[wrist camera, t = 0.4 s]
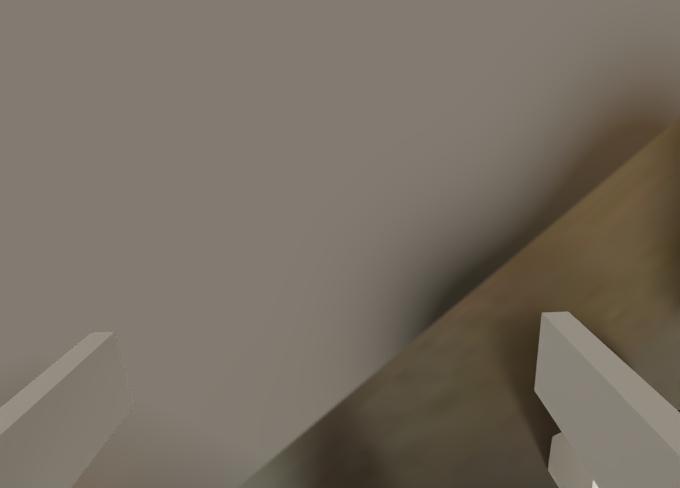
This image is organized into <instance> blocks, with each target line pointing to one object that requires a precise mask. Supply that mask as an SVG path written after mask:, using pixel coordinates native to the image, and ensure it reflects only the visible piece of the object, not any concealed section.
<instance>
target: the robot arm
mask: <svg viewBox="0 0 680 488" xmlns="http://www.w3.org/2000/svg"><path fill="white" fill-rule="evenodd" d="M534 391H535V392H536V394H537V395H538V397H539V398H540V400H541V401H542V403H543V404H544V406H545V407H546V409H547V410H548V412H549V413H550V415H551V416H552V418H553V419H554V421H555V422H556V424H557V425H558V427H559V428H560V430H561V432H562V433H563V435H564V436H565V438H566V439H567V441H568V442H569V444H570V445H571V447H572V448H573V450H574V451H575V453H576V454H577V456H578V457H579V459H580V460H581V462H582V463H583V465H584V466H585V468H586V469H587V471H588V472H589V474H590V475H591V477H592V478H593V480H594V481H595V483H596V484H597V486H598V487H599V488H680V410H676V409H675V408H674V407H673V406H672V405H671V404H670V403H668V402H667V401H666V400H665V399H664V398H663V397H662V396H661V395H660V394H659V393H657V392H656V391H655V390H654V389H653V388H652V387H651V386H650V385H649V384H648V383H646V382H645V381H644V380H643V379H642V378H641V377H640V376H639V375H638V374H637V373H635V372H634V371H633V370H632V369H631V368H630V367H629V366H628V365H627V364H625V363H624V362H623V361H622V360H621V359H620V358H619V357H618V356H617V355H616V354H614V353H613V352H612V351H611V350H610V349H609V348H608V347H607V346H606V345H605V344H603V343H602V342H601V341H600V340H599V339H598V338H597V337H596V336H595V335H594V334H592V333H591V332H590V331H589V330H588V329H587V328H586V327H585V326H584V325H582V324H581V323H580V322H579V321H578V320H577V319H576V318H575V317H574V316H573V315H571V314H570V313H569V312H546V313H542V316H541V326H540V336H539V347H538V357H537V368H536V378H535V388H534ZM133 406H134V401H133V397H132V394H131V390H130V386H129V383H128V379H127V375H126V371H125V368H124V364H123V360H122V356H121V353H120V350H119V346H118V342H117V338H116V334H115V332H99V333H98V332H97V333H91V334H89V335H88V336H87V337H86V338H84V339H83V340H82V341H81V342H80V343H78V344H77V345H76V346H75V347H73V348H72V349H71V350H70V351H69V352H67V353H66V354H65V355H64V356H63V357H61V358H60V359H59V360H58V361H57V362H55V363H54V364H53V365H52V366H51V367H50V368H48V369H47V370H46V371H44V372H43V373H42V374H41V375H40V376H38V377H37V378H36V379H35V380H34V381H32V382H31V383H30V384H29V385H27V387H25V388H24V389H23V390H21V391H20V392H19V393H18V394H17V395H15V396H14V397H13V398H12V399H11V400H9V401H8V402H7V403H6V404H4V405H3V406H2V407H1V408H0V488H71V487H72V486H73V485H74V483H75V482H76V481H77V479H78V478H79V477H80V475H81V474H82V473H83V471H84V470H85V469H86V467H87V466H88V465H89V463H90V462H91V461H92V460H93V458H94V457H95V456H96V454H97V453H98V452H99V450H100V449H101V448H102V446H103V445H104V444H105V442H106V441H107V440H108V438H109V437H110V436H111V435H112V433H113V432H114V430H115V429H116V428H117V427H118V425H119V424H120V422H121V421H122V420H123V419H124V417H125V416H126V415H127V413H128V412H129V411H130V410H131V408H132V407H133Z"/></svg>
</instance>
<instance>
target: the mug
mask: <svg viewBox="0 0 680 488" xmlns="http://www.w3.org/2000/svg"><path fill="white" fill-rule="evenodd" d="M548 471H549V473H550V474H551V476H552V478H553V479H554V481H555V483H556V484H557V486H558V487H559V488H599V487H598V486H597V484H596V483H595V481H594V480H593V478H592V477H591V475H590V474H589V472H588V471H587V469H586V468H585V466H584V465H583V463H582V462H581V460H580V459H579V457H578V456H577V454H576V453H575V451H574V450H573V448H572V447H571V445H570V444H569V442H568V441H567V439H566V438H565V436H564V435H563V433H562V432H561V433H559V434H556V435H554V436H552V443H551V450H550V457H549V464H548Z"/></svg>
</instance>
